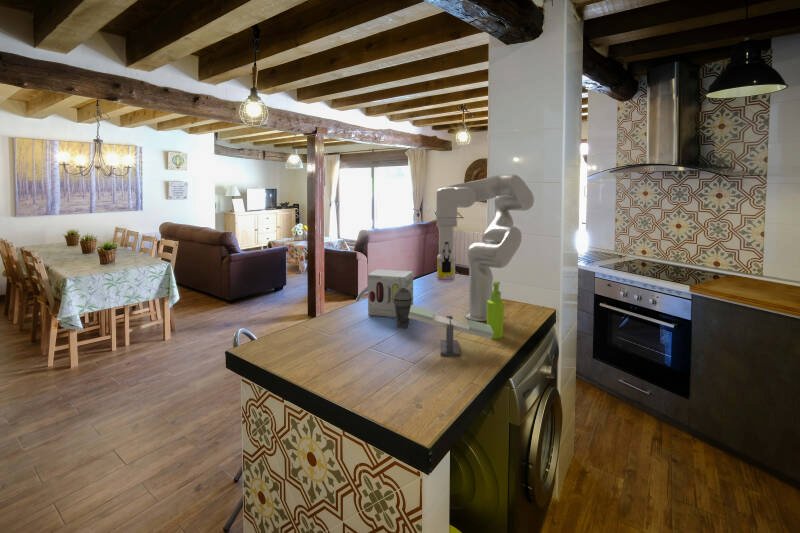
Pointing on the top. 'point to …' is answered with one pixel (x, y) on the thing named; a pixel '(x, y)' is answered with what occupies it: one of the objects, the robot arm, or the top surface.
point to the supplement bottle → (445, 276)
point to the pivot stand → (449, 343)
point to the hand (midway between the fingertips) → (446, 270)
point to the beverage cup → (402, 306)
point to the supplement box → (386, 290)
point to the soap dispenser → (495, 312)
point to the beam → (451, 322)
